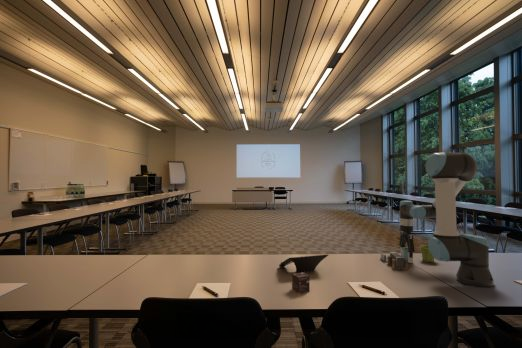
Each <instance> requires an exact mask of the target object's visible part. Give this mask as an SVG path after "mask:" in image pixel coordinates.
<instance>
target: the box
mask: <svg viewBox="0 0 522 348" xmlns="http://www.w3.org/2000/svg"><path fill="white" fill-rule="evenodd" d="M291 289H292V290H293V291H294V292H296V293H297V294H304V293H309V292H310V275H308V274H307V273H306V272H305V273H296V272H294V273H292V274H291Z"/></svg>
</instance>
